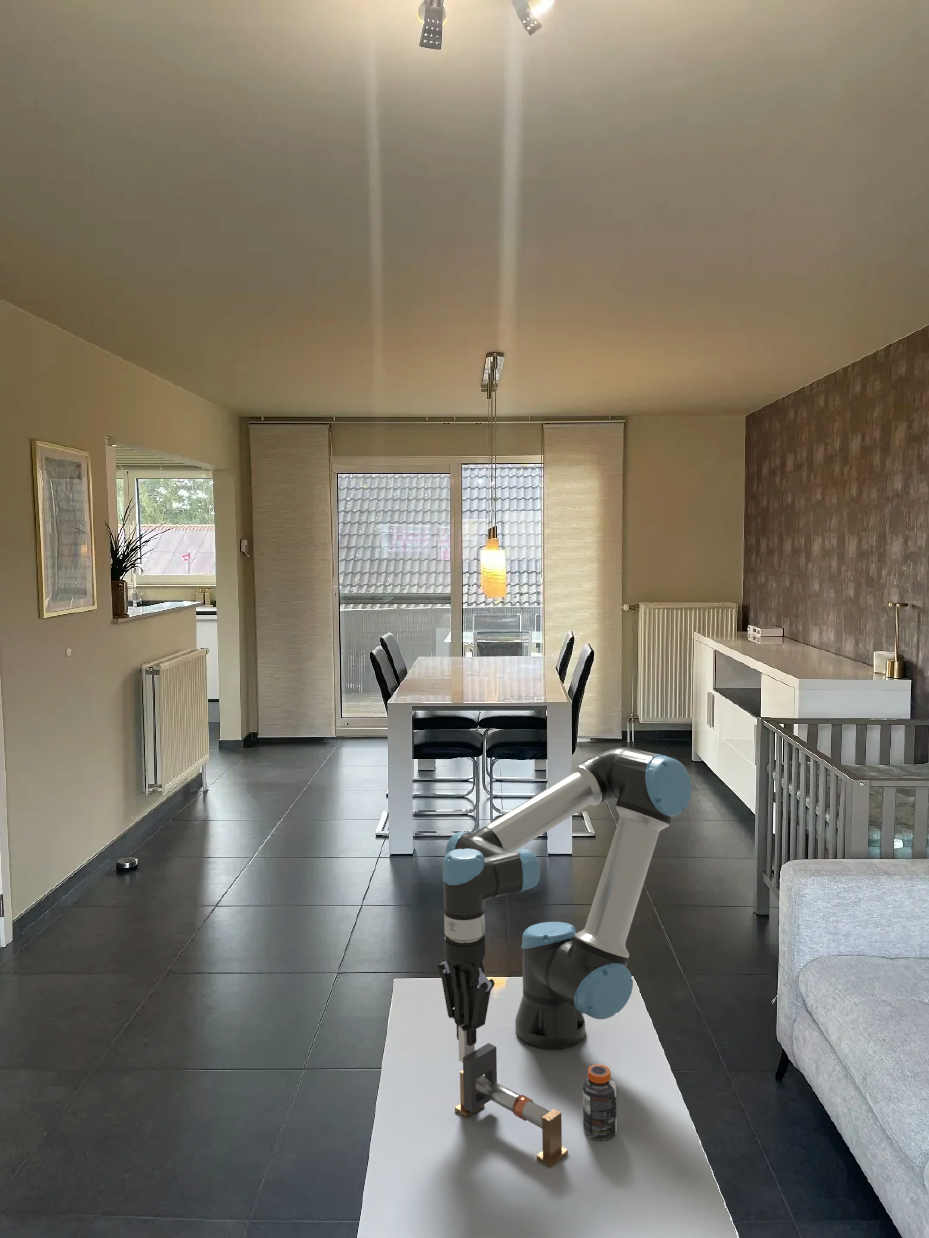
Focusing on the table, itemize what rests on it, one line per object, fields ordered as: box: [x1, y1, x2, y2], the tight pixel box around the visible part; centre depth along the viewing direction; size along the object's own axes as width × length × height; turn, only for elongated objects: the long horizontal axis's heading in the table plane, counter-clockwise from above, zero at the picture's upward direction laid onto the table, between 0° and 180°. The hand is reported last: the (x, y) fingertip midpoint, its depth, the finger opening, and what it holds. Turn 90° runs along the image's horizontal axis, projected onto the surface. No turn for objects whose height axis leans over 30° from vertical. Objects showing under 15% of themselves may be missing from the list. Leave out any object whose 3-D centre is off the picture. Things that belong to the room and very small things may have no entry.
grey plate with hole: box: [462, 1042, 498, 1112], centre depth 162 cm, size 2×7×9 cm, turn 135°
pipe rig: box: [454, 1069, 569, 1169], centre depth 157 cm, size 23×5×8 cm, turn 45°
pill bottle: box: [582, 1063, 618, 1141], centre depth 157 cm, size 6×6×11 cm
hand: (466, 1058), depth 164 cm, fingers closed
